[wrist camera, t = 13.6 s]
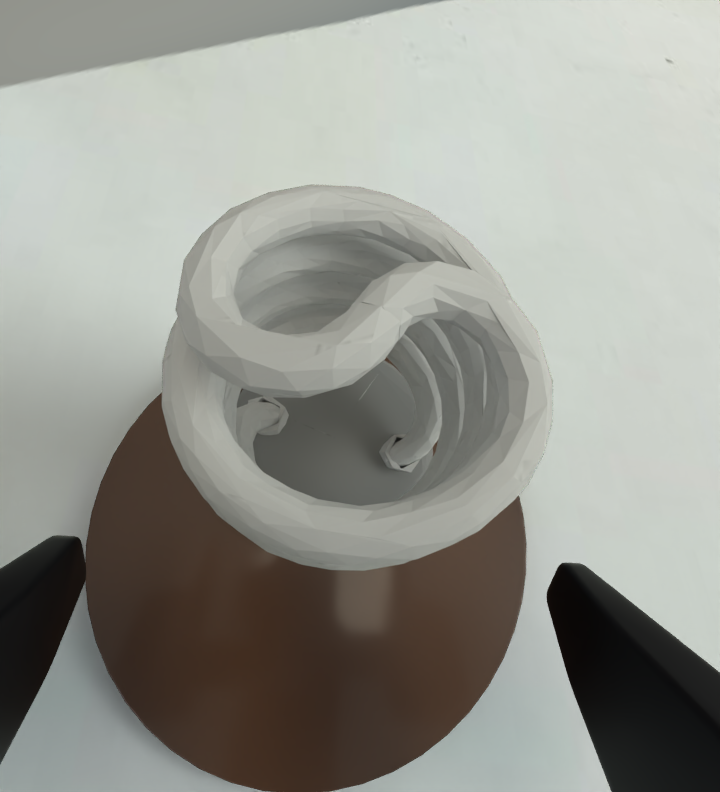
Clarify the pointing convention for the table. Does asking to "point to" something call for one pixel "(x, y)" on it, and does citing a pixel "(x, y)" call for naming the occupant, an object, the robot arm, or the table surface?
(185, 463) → the light bulb
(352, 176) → the table surface
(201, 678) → the disc
